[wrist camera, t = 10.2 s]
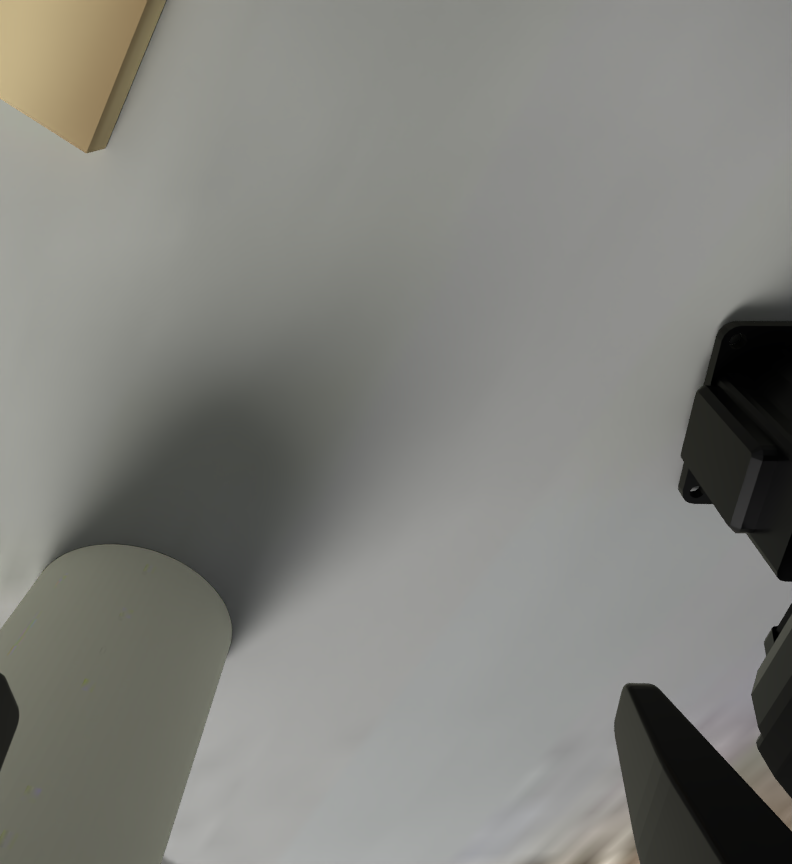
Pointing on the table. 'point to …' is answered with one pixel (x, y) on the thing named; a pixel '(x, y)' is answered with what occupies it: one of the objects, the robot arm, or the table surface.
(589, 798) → the table surface
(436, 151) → the table surface
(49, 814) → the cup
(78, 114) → the peg rack
